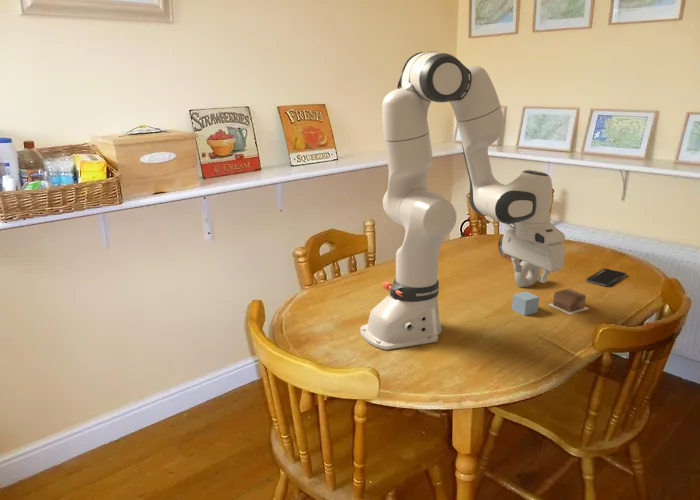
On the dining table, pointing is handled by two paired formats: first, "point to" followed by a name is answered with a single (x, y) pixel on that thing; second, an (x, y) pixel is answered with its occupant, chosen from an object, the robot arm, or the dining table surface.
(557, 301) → the walnut block
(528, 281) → the donut
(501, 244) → the tin
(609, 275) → the phone
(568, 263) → the dining table surface
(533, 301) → the blue block
